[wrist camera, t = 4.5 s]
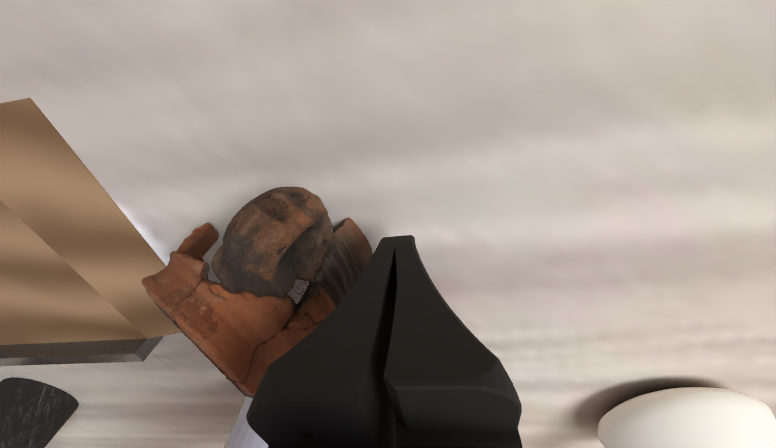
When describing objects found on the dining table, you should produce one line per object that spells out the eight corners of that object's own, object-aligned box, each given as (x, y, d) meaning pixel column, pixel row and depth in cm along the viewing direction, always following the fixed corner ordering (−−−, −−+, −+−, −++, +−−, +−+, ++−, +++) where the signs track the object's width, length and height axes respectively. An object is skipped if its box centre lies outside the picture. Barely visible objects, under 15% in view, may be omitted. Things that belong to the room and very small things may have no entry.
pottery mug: (370, 313, 20) (277, 429, 15) (275, 235, 22) (163, 315, 17) (434, 198, 11) (253, 395, 6) (262, 83, 13) (9, 153, 8)
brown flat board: (219, 317, 22) (207, 335, 20) (11, 328, 24) (-12, 345, 23) (48, 94, 13) (7, 102, 11) (-249, 151, 16) (-309, 162, 14)
